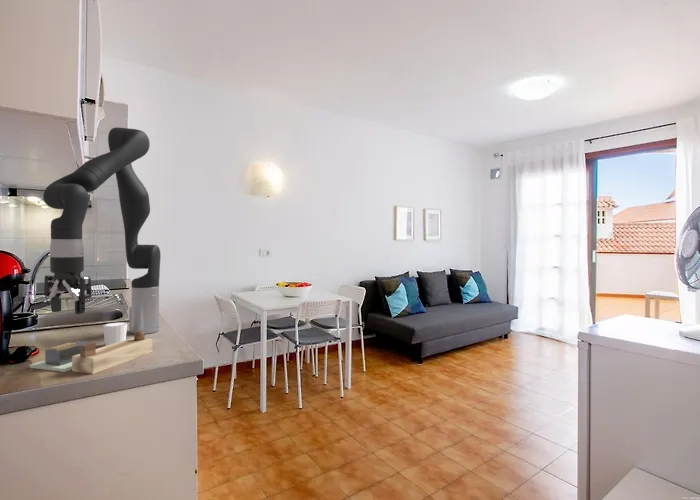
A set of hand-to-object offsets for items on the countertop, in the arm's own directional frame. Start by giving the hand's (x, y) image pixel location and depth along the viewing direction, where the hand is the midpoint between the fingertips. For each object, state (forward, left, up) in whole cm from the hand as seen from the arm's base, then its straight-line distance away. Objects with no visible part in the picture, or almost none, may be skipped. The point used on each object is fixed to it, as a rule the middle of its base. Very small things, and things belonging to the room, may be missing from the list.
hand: (67, 312), depth 104 cm
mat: (0, 0, -14) cm, 14 cm away
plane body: (+11, +5, -14) cm, 19 cm away
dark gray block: (0, 0, -13) cm, 13 cm away
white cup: (-3, +18, -14) cm, 23 cm away
